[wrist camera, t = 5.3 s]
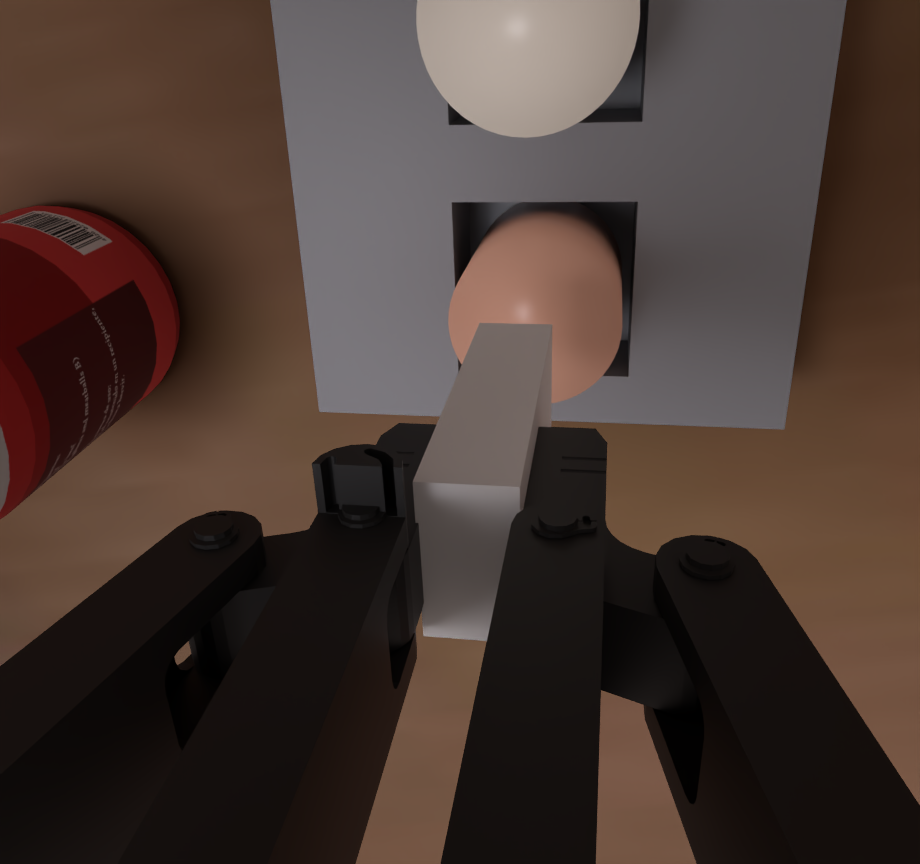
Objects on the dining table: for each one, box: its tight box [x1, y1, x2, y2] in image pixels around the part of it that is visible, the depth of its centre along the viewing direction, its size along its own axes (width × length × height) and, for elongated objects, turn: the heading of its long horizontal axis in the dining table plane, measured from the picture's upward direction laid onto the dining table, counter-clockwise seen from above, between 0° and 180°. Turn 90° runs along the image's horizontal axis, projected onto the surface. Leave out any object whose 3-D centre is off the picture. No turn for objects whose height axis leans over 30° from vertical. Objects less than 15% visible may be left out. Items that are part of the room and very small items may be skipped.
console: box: [270, 0, 847, 429], centre depth 23 cm, size 22×14×4 cm, turn 3°
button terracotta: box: [448, 202, 622, 403], centre depth 24 cm, size 4×4×5 cm
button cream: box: [416, 0, 640, 138], centre depth 19 cm, size 4×4×5 cm
